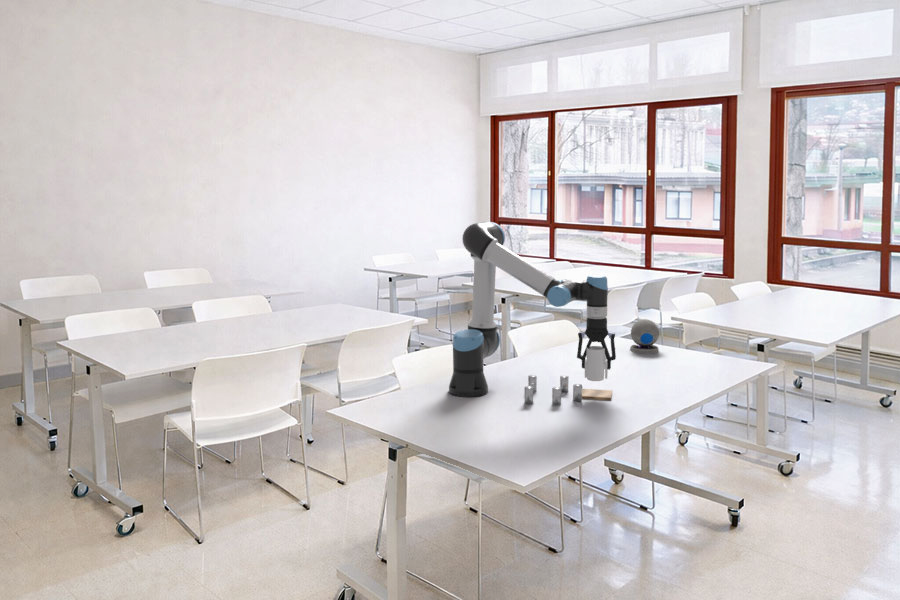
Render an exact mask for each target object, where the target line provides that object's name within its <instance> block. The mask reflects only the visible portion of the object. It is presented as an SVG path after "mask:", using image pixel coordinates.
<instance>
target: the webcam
mask: <svg viewBox="0 0 900 600" xmlns="http://www.w3.org/2000/svg"><path fill="white" fill-rule="evenodd" d="M630 337H631V339H632V341H633V342H634V343H635V344H632V345H631V346H630V348H629V350H630V351H631V352H633V353H638V354H656V353H658V352H659V346H657V345H654V344H655V343H657V341H658V339H659V337H660V330H659V326H658V325H657V324H656V323H655V322H654V321H653V320H650V319H646V318H645V319H639V320H638V321H635V323H633V325H632V327H631V329H630Z"/></svg>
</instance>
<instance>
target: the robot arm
mask: <svg viewBox="0 0 900 600" xmlns="http://www.w3.org/2000/svg"><path fill="white" fill-rule="evenodd" d="M505 240H506V234H505V232H504V229H503V228H502V227H501V226H500V224H498V223H496V222H493V221H483V222H477V223H472V224H469V225H468V226H467V228H465V230H464V232H463V234H462V245H463V246H464V248H465V250H467V252H468V253H470V257H471V259H473V261H474V262H473V283H472V284H473V285H472V286H473V287H472V309H471V310H472V311H471V320H470V321H469V322H468V323H467V329H464V330H459V331H457V332H455V333H454V335H453V337H452V365H453V367H452V376H451V378H450V382H449V385H448V392H450V393H451V394H450V393H449V394H450V395H452V394H453V396H456V395H458V396H457V397H462V396H467V397H466V398H471V397H480V396H485V395H486V394H487V393H488V392H489V385H488V382H487V379H486V376H485V373H484V359H486V358H488V357H490V356H492V355H493V354H495V353H496V351H497V350H498V348H499V346H500V343H501V337H500V334H499V332H498V329H497V328H498V324H497V323H496V322H495V320H494V315H495V314H494V313H495V311H494V310H495V297H496V295H495V292H496V291H495V290H496V274H497V273H496V271H497V270H496V269H497V268H498V269H500V270H501V271H503V272H505V273H506V274H508V275H510V276H512V277H513V278H514V279H516V280H517V281H519V282H521V283H522V284H524V285H525V286H527V287H528V288H530V289H532V290H534V291H535V292H537V293H538V294H540V295H541V296H543V297H545V298H546V299H547V300H548V302H549V304H550V305H552V306H553V307H556V308H561V307H565V306H566V305H568V304H569V303H571V302H573V301H580V302H586V316H587V317H586V325H585V326H586V329H585V331H579V332H578V334H577V336H578V344H577V345H578V347H577V355H576V358H577V359H579V360H581V368H582V369H583V370H584V378H586V379H587V354H586V352H587V348H588V349H589V348H590V346H592V343H596V342H597V343H600V344H601V346H602V347H603V349H604V348H605V355H606V358H607V360H606V361H605V369H604V380H605V379H606V380H607V379H608V370H611V368H612V367H611V366H612V361H615V360H617V359H616V358H617V355H616V354H617V353H616V346H615V337H616V333H615V332H611V331H610V332H609V330H608V318H607V317H608V290H609V288H608V287H609V286H608V277H607V276H605V275H601V274H600V275H599V274H592V275H588V276H586V280H577V279H576V280H574V279H573V280H572V279H556V278H554V276H551V275H550V274H548V273H546V272H545V271H544V270H542V269H540V268H539V267H537V266H536V265H534V264H532V263H531V262H530V261H528V260H526V259H524V258H522V257H521V256H519V255H518V254H516V253H514V252H513V251H512V250H510V249H508V248H507V247H505V246H504V244H505ZM496 267H497V268H496ZM585 335H586V336H587V338H588V341H587V345H586V346H585V350H584V352H583V354H582V349H583V339H584V337H585ZM606 337H608V338H609V339H610V350H611V351H609V350H608V347H607V343H606V341H605V339H606ZM609 352H611V355H610V353H609Z"/></svg>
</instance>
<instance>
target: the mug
mask: <svg viewBox="0 0 900 600" xmlns="http://www.w3.org/2000/svg"><path fill="white" fill-rule="evenodd" d="M586 354H587V355H586V359H587V378H586V380H587V381H591V382H602V381H604V380H605V361H606V360H607V358H606V355H605V348H604V349H603V347H602V345H590V348H589V349H588V348H587V352H586Z"/></svg>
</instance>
